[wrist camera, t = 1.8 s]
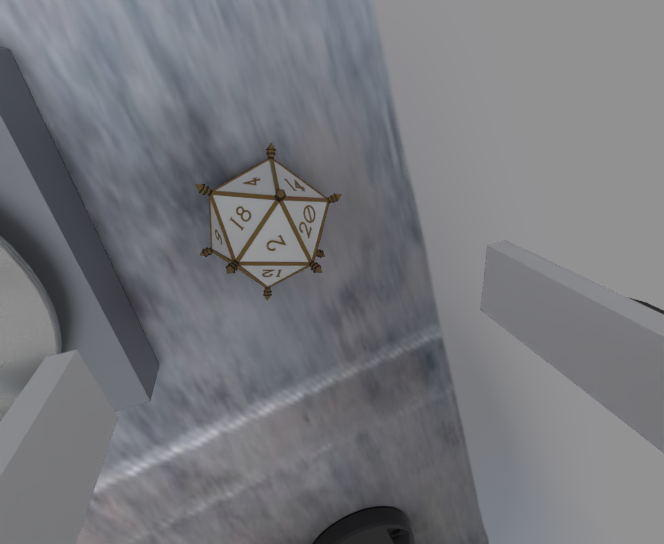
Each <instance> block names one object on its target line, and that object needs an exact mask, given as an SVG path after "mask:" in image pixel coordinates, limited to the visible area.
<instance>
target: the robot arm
mask: <svg viewBox="0 0 664 544" xmlns="http://www.w3.org/2000/svg"><path fill="white" fill-rule="evenodd" d="M481 310H482V311H483V312H484V313H485V314H487V315H488V316H489V317H490V318H492V319H493V320H494V321H496V322H497V323H498V324H499V325H501V326H502V327H503V328H505V329H506V330H507V331H508V332H510V333H511V334H512V335H513V336H515V337H516V338H517V339H519V340H520V341H521V342H522V343H524V344H525V345H526V346H528V347H529V348H530V349H531V350H533V351H534V352H535V353H536V354H538V355H539V356H540V357H542V358H543V359H544V360H545V361H547V362H548V363H549V364H550V365H552V366H553V367H554V368H556V369H557V370H558V371H559V372H561V373H562V374H563V375H565V376H566V377H567V378H569V379H570V380H571V381H572V382H574V383H575V384H576V385H577V386H579V387H580V388H581V389H582V390H584V391H585V392H586V393H588V394H589V395H590V396H591V397H593V398H594V399H595V400H597V401H598V402H599V403H601V404H602V405H603V406H604V407H605V408H607V409H608V410H609V411H611V412H612V413H613V414H615V415H616V416H617V417H618V418H619V419H621V420H622V421H623V422H625V423H626V424H627V425H628V426H630V427H631V428H632V429H634V430H635V431H636V432H637V433H639V434H640V435H641V436H642V437H644V438H645V439H646V440H648V441H649V442H650V443H651V444H653V445H654V446H655V447H657V448H658V449H659V450H660V451H662V452H663V453H664V311H663V310H661V309H659V308H657V307H654V306H652V305H650V304H648V303H645V302H642V301H638V300H635V299H632V298H628V297H625V296H623V295H621V294H618V293H617V292H615V291H612V290H610V289H608V288H606V287H604V286H601V285H600V284H597V283H595V282H593V281H591V280H589V279H587V278H585V277H582V276H580V275H578V274H576V273H574V272H572V271H570V270H568V269H565V268H563V267H561V266H559V265H557V264H555V263H553V262H551V261H548V260H546V259H544V258H542V257H540V256H538V255H536V254H534V253H531V252H529V251H527V250H525V249H523V248H521V247H519V246H516V245H514V244H512V243H510V242H508V241H502V242H499V243H495V244H491V245H488V246H487V253H486V263H485V273H484V282H483V292H482V302H481ZM117 420H118V416H117V414H116V412H115V411H114V409H113V407H112V406H111V404H110V403H109V401H108V399H107V398H106V396H105V394H104V393H103V391H102V390H101V388H100V386H99V385H98V383H97V381H96V380H95V378H94V377H93V375H92V373H91V372H90V370H89V368H88V367H87V365H86V364H85V362H84V360H83V359H82V357H81V355H80V354H79V352H78V351H77V350H73V351H69V352H65V353H61V354H57V355H53V356H49V357H46V358H45V359H44V361H43V362H42V363H41V365H40V366H39V368H38V369H37V370H36V372H35V373H34V375H33V376H32V378H31V379H30V380H29V382H28V383H27V385H26V386H25V387H24V389H23V390H22V392H21V393H20V394H19V396H18V397H17V399H16V400H15V402H14V403H13V404H12V406H11V407H10V409H9V410H8V411H7V413H6V414H5V416H4V417H3V419H2V420H1V421H0V544H76V542H77V539H78V536H79V533H80V530H81V527H82V524H83V521H84V518H85V515H86V512H87V509H88V506H89V503H90V500H91V497H92V494H93V491H94V488H95V485H96V482H97V479H98V476H99V473H100V470H101V467H102V464H103V461H104V458H105V455H106V453H107V450H108V447H109V444H110V441H111V438H112V435H113V432H114V429H115V426H116V423H117ZM314 544H415V541H414V536H413V532H412V530H411V528H410V525H409V523H408V521H407V519H406V517H405V515H404V514H403V513H402V512H400V511H399V510H396V509H393V508H374V509H369V510H365V511H361V512H358V513H356V514H353V515H351V516H349V517H347V518H345V519H343V520H341V521H339V522H338V523H336V524H335V525H333V526H332V527H330V528H329V529H328V530H327V531H325V532H324V533H323V534H322V535H321V536H320V537H319V538H318V539H317V540H316V542H315V543H314Z"/></svg>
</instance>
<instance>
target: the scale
mask: <svg viewBox="0 0 664 544" xmlns="http://www.w3.org/2000/svg"><path fill="white" fill-rule="evenodd" d="M0 236H1V237H3V238H4V239H5V240H6V241H7V242H8V243H9V244H10V245H12V247H13V248H14V249H15V250H16V251H17V252H18V253H19V254H20V255H21V257H22V258H23V259H24V260H25V261H26V262H27V263H28V264H29V265H30V267H31V268H32V270H33V271H34V273H35V274H36V276H37V277H38V278H39V280H40V281H41V283H42V284H43V286H44V288H45V290H46V292H47V294H48V295H49V297H50V299H51V301H52V303H53V306H54V309H55V312H56V315H57V318H58V322H59V326H60V334H61V341H62V343H61V353H65V352H69V351H73V350H77V351H78V352H79V354H80V355H81V357H82V359H83V360H84V362H85V364H86V365H87V367H88V368H89V370H90V372H91V373H92V375H93V377H94V378H95V380H96V381H97V383H98V385H99V386H100V388H101V390H102V391H103V393H104V394H105V396H106V398H107V399H108V401H109V403H110V404H111V406H112V407H113V409H114V411H119V410H122V409H126V408H129V407H132V406H136V405H139V404H143V403H146V402H149V401H150V400H151V396H152V392H153V388H154V384H155V380H156V376H157V372H158V368H159V363H158V361H157V359H156V357H155V355H154V353H153V351H152V349H151V347H150V344H149V342H148V340H147V338H146V336H145V334H144V332H143V330H142V328H141V325H140V323H139V321H138V319H137V317H136V315H135V313H134V311H133V309H132V306H131V304H130V302H129V300H128V298H127V296H126V294H125V292H124V290H123V288H122V285H121V283H120V281H119V279H118V277H117V275H116V273H115V271H114V269H113V266H112V264H111V262H110V260H109V258H108V256H107V254H106V252H105V250H104V247H103V245H102V243H101V241H100V239H99V237H98V235H97V233H96V231H95V228H94V226H93V224H92V222H91V220H90V218H89V216H88V214H87V212H86V209H85V207H84V205H83V203H82V201H81V199H80V197H79V195H78V193H77V190H76V188H75V186H74V184H73V182H72V180H71V178H70V176H69V174H68V171H67V169H66V167H65V165H64V163H63V161H62V159H61V157H60V155H59V152H58V150H57V148H56V146H55V144H54V142H53V140H52V138H51V136H50V133H49V131H48V129H47V127H46V125H45V123H44V121H43V119H42V117H41V114H40V112H39V110H38V108H37V106H36V104H35V102H34V100H33V98H32V95H31V93H30V91H29V89H28V87H27V85H26V83H25V81H24V79H23V76H22V74H21V72H20V70H19V68H18V66H17V64H16V62H15V60H14V57H13V55H12V53H11V51H10V50H9V49H6V48H3V47H0Z"/></svg>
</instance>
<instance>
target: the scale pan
mask: <svg viewBox="0 0 664 544" xmlns="http://www.w3.org/2000/svg"><path fill="white" fill-rule="evenodd" d="M61 343H62V341H61V334H60V326H59V322H58V318H57V315H56V312H55V309H54V306H53V303H52V301H51V299H50V297H49V295H48V294H47V292H46V290H45V288H44V286H43V284H42V283H41V281H40V280H39V278H38V277H37V276H36V274H35V273H34V271H33V270H32V268H31V267H30V265H29V264H28V263H27V262H26V261H25V260H24V259H23V258H22V257H21V255H20V254H19V253H18V252H17V251H16V250H15V249H14V248H13V247H12V245H10V244H9V243H8V242H7V241H6V240H5V239H4V238H3V237H1V236H0V421H1V420H2V419H3V417H4V416H5V414H6V413H7V411H8V410H9V409H10V407H11V406H12V404H13V403H14V402H15V400H16V399H17V397H18V396H19V394H20V393H21V392H22V390H23V389H24V387H25V386H26V385H27V383H28V382H29V380H30V379H31V378H32V376H33V375H34V373H35V372H36V370H37V369H38V368H39V366H40V365H41V363H42V362H43V361H44V359H45V358H46V357H49V356H53V355H57V354H61Z"/></svg>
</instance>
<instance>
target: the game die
mask: <svg viewBox="0 0 664 544" xmlns="http://www.w3.org/2000/svg"><path fill="white" fill-rule="evenodd" d="M266 150H267V153H266V154H267V155H268V159H266V160H264V161H263V162H261V163H259V164H257V165H256V166H254V167H252V168H250V169H248V170H247V171H245V172H243V173H241V174H240V175H238V176H236V177H234V178H233V179H231V180H229V181H227V182H226V183H224V184H222V185H220V186H219V187H217V188H215V189H213V190H210V189H209V187H208V186H205V184H202V185H199V184H195V185H196V187H197V189H198V190H199V193H203V195H208V196H209V204H210V233H211V248H207V247H206V249H203V251H202V252H201V254H200V255H201V256H205V257H207V256H208V255H211V253H212V252H213V253H215V254H216V255H218V256H219V257H221V258H222V259H224V260H225V261H227V262H228V263H230V264H228V266H226V269H227V273H235V270H237V269H239V270H240V271H242V272H243V273H245V274H246V275H248V276H249V277H251V278H252V279H253V280H255V281H256V282H258V283H259V284H261V285H262V286H264V287H265V290H264V294H263V295H264V296H265V298H266V299H267V300H268V299H269V297H270V296H271V295H272V294H271V292H272V291H271V289H270V287H272V286H274V285H275V284H277V283H279V282H281V281H283V280H285V279H287V278H289V277H290V276H292V275H294V274H296V273H298V272H300V271H302V270H304V269H305V268H307V267H309V266H310V267H311V270H313V271H314V273H315V272H318V273H322V270H321V266H320V265H318V263H317V262H316V263H315V262H314V260H315V257H316V256H318V257H320V258H321V257H325V256H324V253H323V250H322V251H321V250H320V249H319V250H318V246H319V242H320V238H321V234H322V230H323V226H324V222H325V218H326V214H327V210H328V206H329V203H331V202H333V203H334V202H336V201H337V202H338V200H339V198H340V197H341V194H335V193H334V195H331V196H330V197H329V198H326V197H325V196H324V195H322V194H321V193H319V192H318V191H317V190H315V189H314V188H313V187H311V186H310V185H309V184H307V183H306V182H304V181H303V180H302V179H300V178H299V177H298V176H296V175H295V174H293V173H292V172H291V171H289V170H288V169H287V168H285V167H284V166H282V165H281V164H280V163H278V162H277V161H276V160H274V155H275V151H276V150H275V149H274V147H273V145H272V143H271V144H270V145H269V147H268V148H267V149H266Z"/></svg>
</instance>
